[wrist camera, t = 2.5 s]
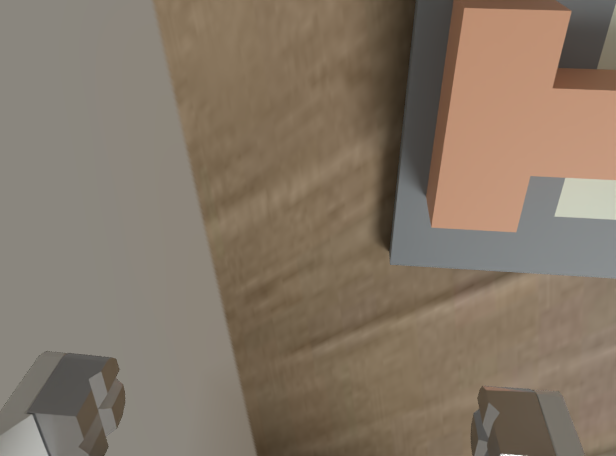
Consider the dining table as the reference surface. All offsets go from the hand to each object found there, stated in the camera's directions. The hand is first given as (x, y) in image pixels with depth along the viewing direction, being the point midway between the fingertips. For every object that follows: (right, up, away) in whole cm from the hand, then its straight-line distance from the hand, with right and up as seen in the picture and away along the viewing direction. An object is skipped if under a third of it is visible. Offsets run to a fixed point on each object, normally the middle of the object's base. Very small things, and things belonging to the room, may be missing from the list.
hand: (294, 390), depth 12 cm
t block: (+11, +9, +14) cm, 21 cm away
